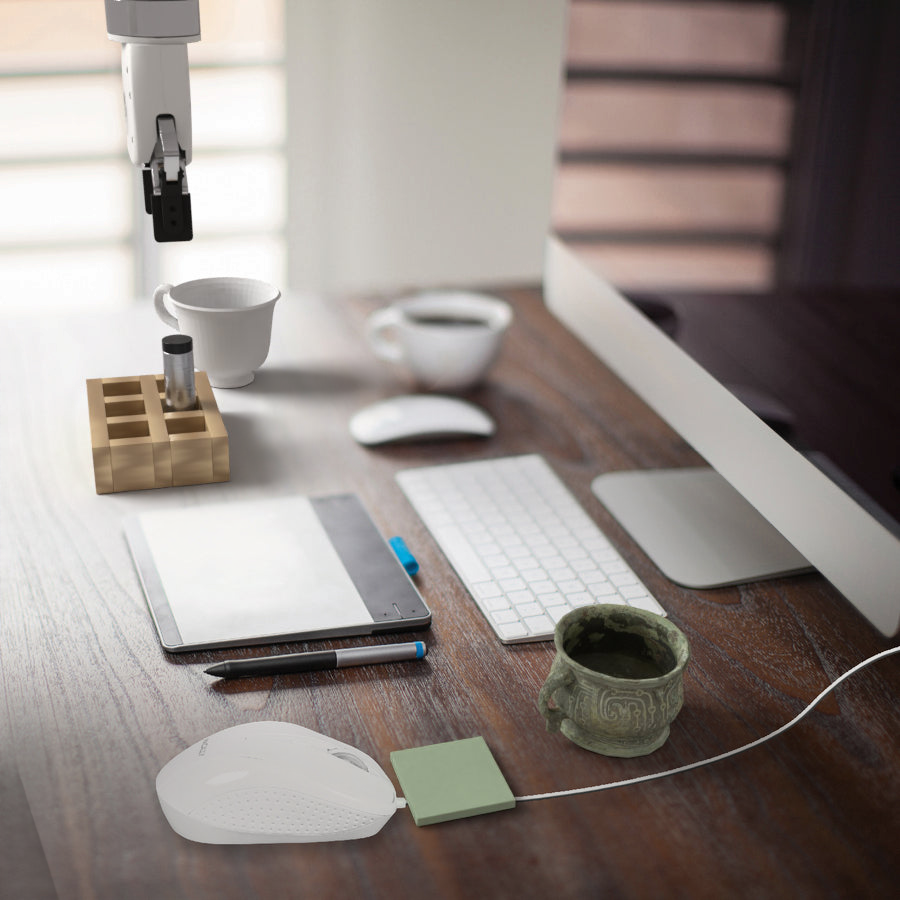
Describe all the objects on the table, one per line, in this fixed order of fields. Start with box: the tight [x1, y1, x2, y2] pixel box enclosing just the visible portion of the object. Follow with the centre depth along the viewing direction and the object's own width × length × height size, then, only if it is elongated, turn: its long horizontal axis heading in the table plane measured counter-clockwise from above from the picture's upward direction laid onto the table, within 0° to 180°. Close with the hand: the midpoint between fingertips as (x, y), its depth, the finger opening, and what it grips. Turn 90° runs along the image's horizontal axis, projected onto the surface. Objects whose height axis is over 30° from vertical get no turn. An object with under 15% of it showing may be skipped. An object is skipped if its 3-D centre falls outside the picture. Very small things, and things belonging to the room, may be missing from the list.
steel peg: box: [161, 333, 197, 413], centre depth 108 cm, size 3×3×11 cm
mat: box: [389, 735, 517, 827], centre depth 68 cm, size 6×6×1 cm
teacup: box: [152, 276, 282, 389], centre depth 125 cm, size 12×15×10 cm
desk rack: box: [85, 370, 231, 495], centre depth 108 cm, size 12×17×4 cm
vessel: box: [537, 602, 692, 759], centre depth 73 cm, size 12×9×6 cm
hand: (168, 226), depth 101 cm, fingers open, 9 cm apart
